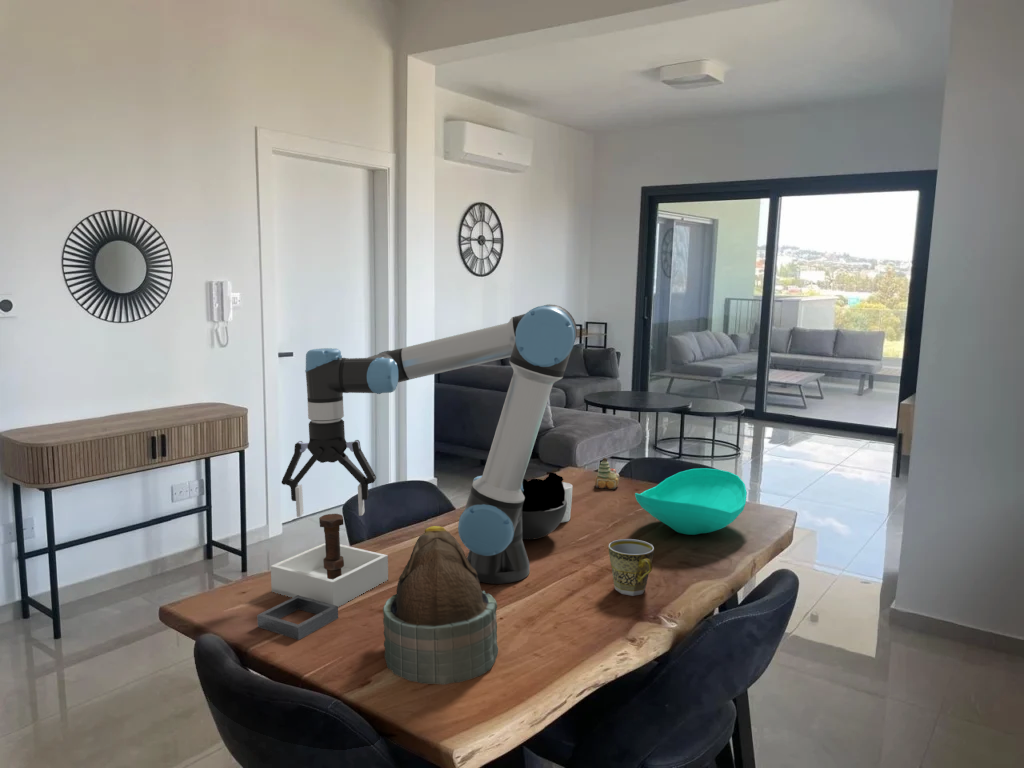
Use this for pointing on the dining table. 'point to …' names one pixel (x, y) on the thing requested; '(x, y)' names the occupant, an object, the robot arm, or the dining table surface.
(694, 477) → the table top decor
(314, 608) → the socket collar
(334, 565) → the bolt
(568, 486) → the white cup
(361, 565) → the bin
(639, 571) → the ceramic cup
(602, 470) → the ornament
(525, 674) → the dining table surface
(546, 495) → the bowl of black rocks
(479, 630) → the decorative pot
